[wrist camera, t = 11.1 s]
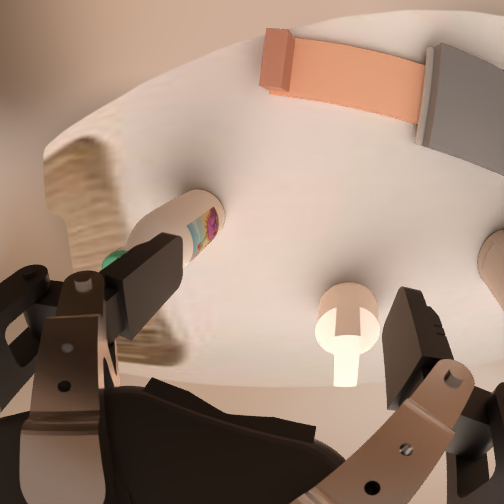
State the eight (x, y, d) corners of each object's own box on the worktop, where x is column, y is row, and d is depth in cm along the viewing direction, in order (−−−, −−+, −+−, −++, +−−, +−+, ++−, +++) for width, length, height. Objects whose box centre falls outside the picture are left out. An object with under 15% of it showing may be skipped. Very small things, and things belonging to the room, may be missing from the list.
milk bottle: (170, 215, 46) (81, 275, 29) (195, 177, 42) (102, 223, 25) (207, 248, 47) (134, 325, 29) (236, 212, 43) (164, 281, 25)
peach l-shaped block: (436, 70, 27) (452, 63, 22) (428, 128, 31) (444, 129, 26) (277, 37, 31) (266, 24, 26) (270, 94, 35) (258, 89, 30)
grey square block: (505, 83, 24) (522, 81, 20) (492, 171, 30) (509, 178, 26) (424, 49, 27) (435, 40, 22) (412, 142, 33) (422, 145, 28)
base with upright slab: (374, 330, 45) (378, 386, 34) (319, 331, 47) (311, 386, 37) (378, 281, 41) (386, 333, 31) (317, 282, 44) (308, 334, 34)
